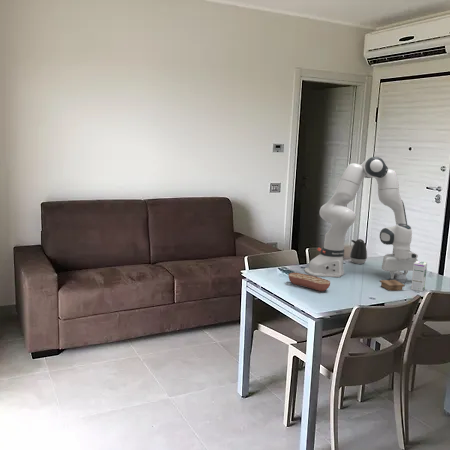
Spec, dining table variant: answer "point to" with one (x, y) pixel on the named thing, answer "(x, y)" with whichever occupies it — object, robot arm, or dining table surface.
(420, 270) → the syrup box
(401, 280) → the housing
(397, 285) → the stand
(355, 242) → the black kettle
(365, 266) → the dining table surface
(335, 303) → the dining table surface
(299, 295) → the dining table surface
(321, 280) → the bread loaf
